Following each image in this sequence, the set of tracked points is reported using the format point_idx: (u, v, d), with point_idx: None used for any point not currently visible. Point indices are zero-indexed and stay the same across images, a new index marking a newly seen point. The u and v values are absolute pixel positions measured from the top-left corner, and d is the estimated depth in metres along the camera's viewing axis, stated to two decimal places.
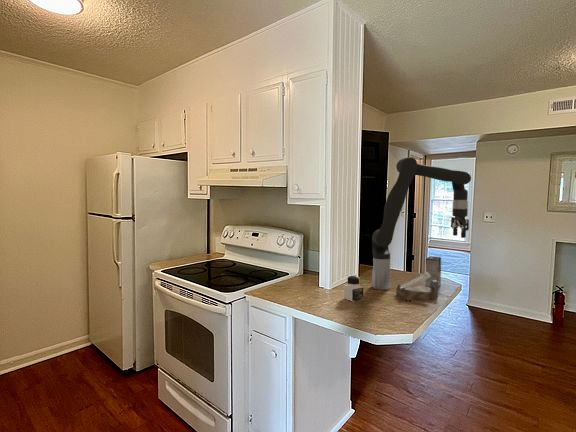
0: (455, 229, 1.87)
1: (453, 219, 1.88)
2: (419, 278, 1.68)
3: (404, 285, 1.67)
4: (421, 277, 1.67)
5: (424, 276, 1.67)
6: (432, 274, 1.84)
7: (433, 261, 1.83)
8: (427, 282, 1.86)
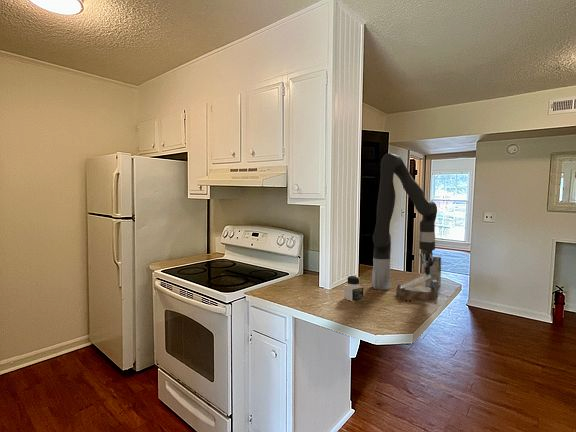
0: None
1: (422, 255, 1.71)
2: (419, 278, 1.68)
3: (404, 285, 1.67)
4: (421, 278, 1.67)
5: (424, 277, 1.67)
6: (432, 274, 1.84)
7: None
8: (427, 282, 1.86)
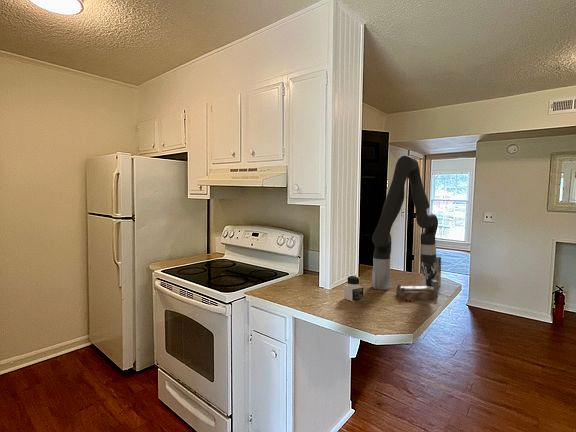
0: None
1: (423, 267, 1.71)
2: (421, 286, 1.68)
3: (405, 287, 1.67)
4: (423, 287, 1.67)
5: (427, 287, 1.67)
6: None
7: None
8: None
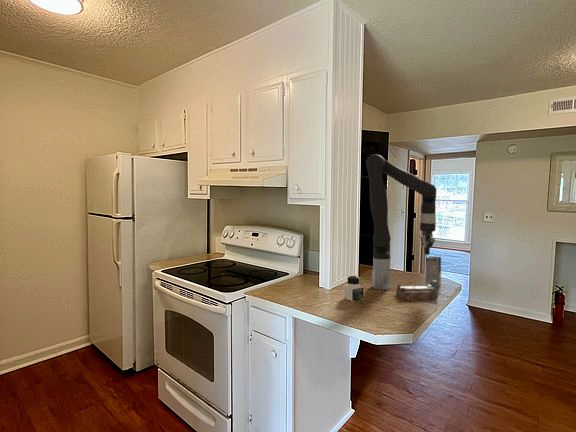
0: None
1: (422, 236, 1.76)
2: (421, 286, 1.68)
3: (405, 287, 1.67)
4: (423, 287, 1.67)
5: (427, 287, 1.67)
6: (432, 274, 1.84)
7: (433, 261, 1.83)
8: (427, 282, 1.86)
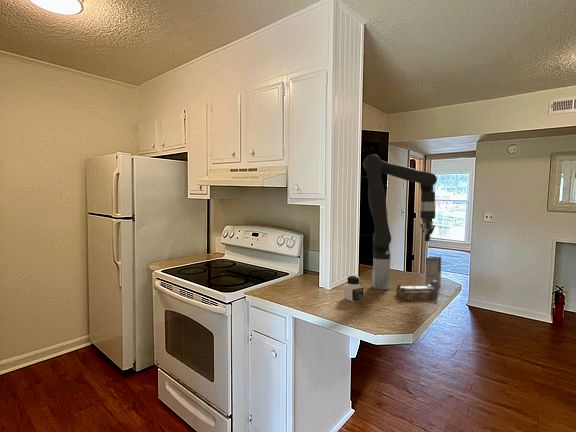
0: None
1: (422, 224, 1.83)
2: (421, 286, 1.68)
3: (405, 287, 1.67)
4: (423, 287, 1.67)
5: (427, 287, 1.67)
6: (432, 274, 1.84)
7: (433, 261, 1.83)
8: (427, 282, 1.86)
